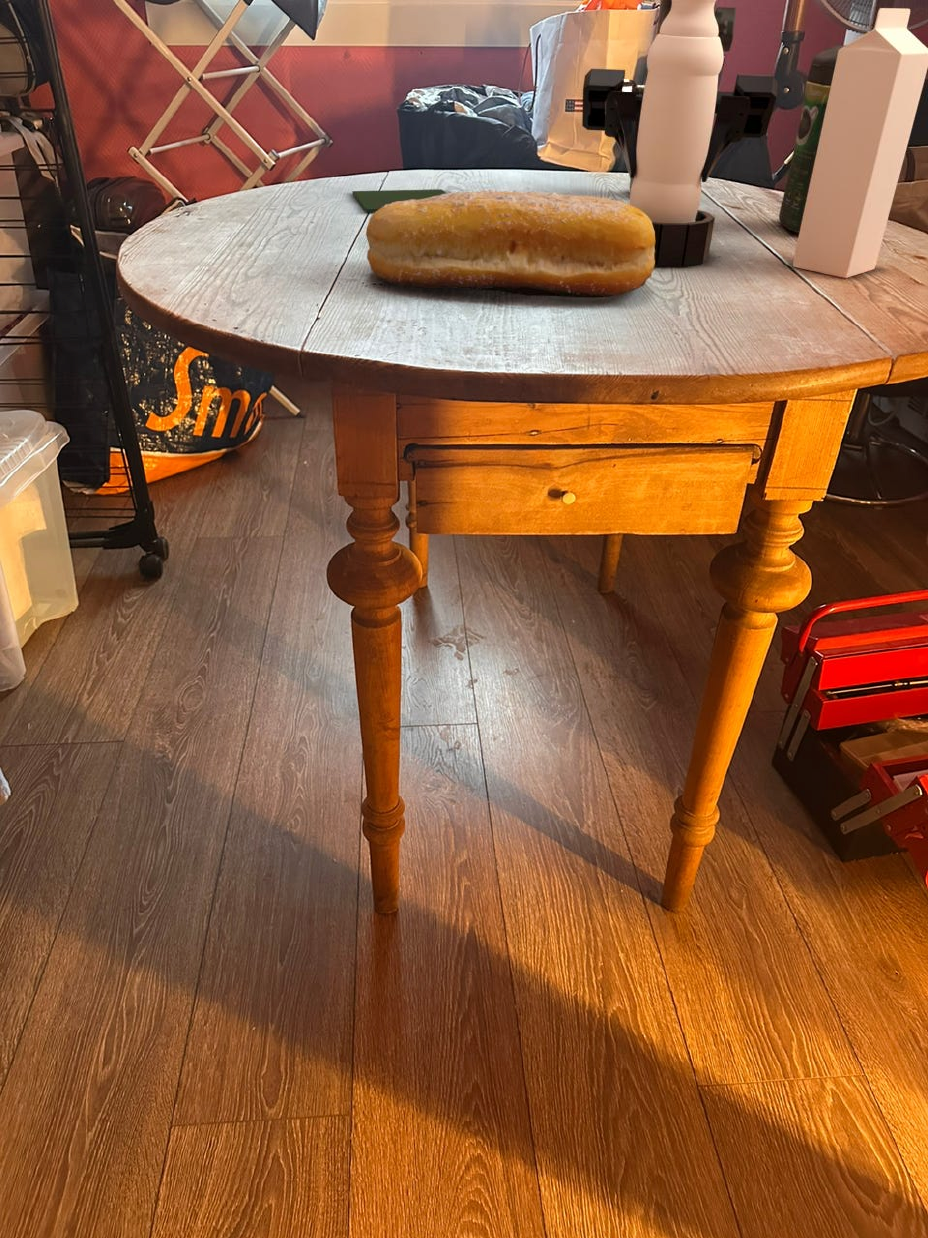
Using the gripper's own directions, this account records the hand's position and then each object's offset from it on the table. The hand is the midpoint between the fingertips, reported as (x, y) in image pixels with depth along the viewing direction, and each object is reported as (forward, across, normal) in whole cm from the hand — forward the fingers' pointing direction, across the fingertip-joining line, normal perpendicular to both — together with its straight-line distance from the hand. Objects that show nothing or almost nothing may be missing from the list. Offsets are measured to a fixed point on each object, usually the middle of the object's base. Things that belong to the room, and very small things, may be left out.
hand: (667, 177), depth 91 cm
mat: (-10, -32, +20) cm, 39 cm away
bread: (+16, -14, -5) cm, 21 cm away
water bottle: (+4, 0, +6) cm, 8 cm away
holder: (+4, 0, +6) cm, 8 cm away
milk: (+5, +18, +6) cm, 19 cm away
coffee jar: (-8, +18, +19) cm, 28 cm away
